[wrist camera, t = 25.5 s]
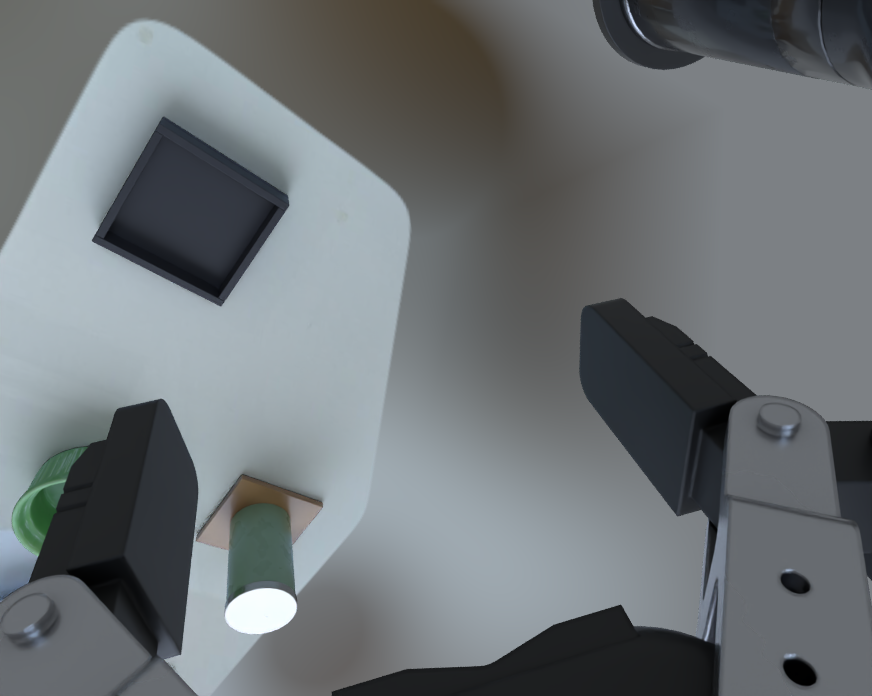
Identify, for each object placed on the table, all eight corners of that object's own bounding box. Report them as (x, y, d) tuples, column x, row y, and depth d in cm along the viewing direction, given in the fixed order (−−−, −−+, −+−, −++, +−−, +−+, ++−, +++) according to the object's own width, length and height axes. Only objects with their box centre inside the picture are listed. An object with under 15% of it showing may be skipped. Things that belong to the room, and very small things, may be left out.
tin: (283, 495, 54) (288, 580, 46) (297, 536, 57) (304, 622, 49) (220, 511, 53) (215, 600, 46) (238, 552, 56) (235, 641, 49)
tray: (163, 116, 37) (159, 123, 36) (288, 195, 41) (289, 205, 40) (98, 229, 40) (91, 241, 38) (222, 294, 44) (221, 307, 42)
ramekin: (120, 537, 53) (110, 580, 49) (7, 500, 48) (-13, 544, 45) (177, 467, 50) (171, 506, 47) (64, 421, 46) (48, 460, 42)
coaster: (242, 473, 52) (241, 478, 52) (322, 502, 56) (323, 507, 56) (196, 536, 55) (195, 541, 54) (276, 559, 59) (276, 564, 58)
